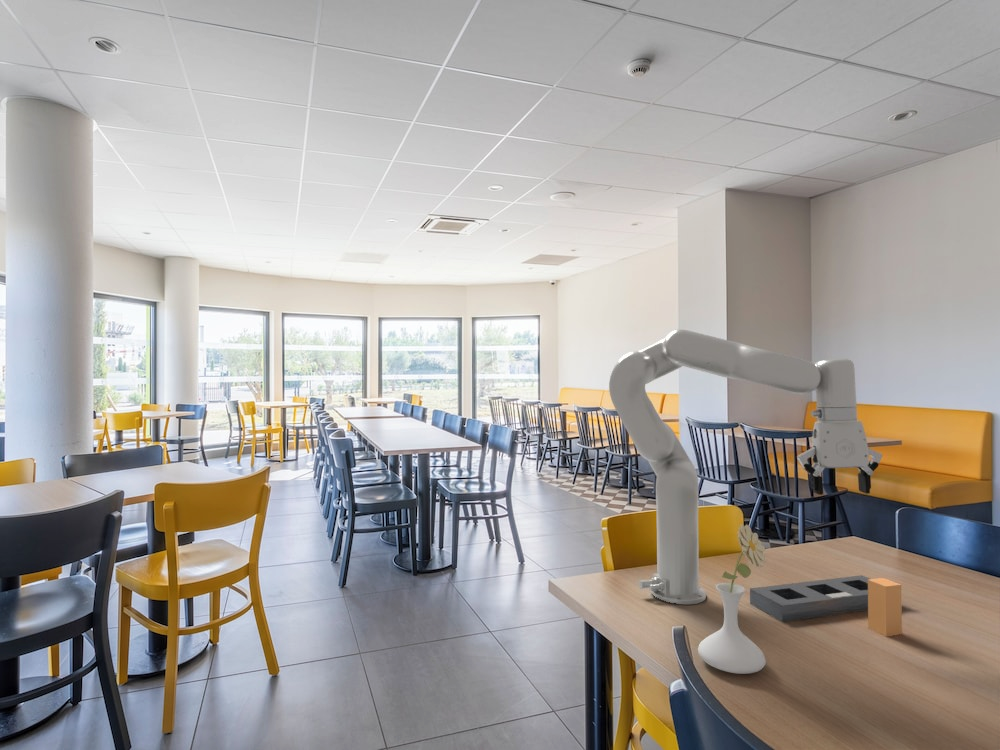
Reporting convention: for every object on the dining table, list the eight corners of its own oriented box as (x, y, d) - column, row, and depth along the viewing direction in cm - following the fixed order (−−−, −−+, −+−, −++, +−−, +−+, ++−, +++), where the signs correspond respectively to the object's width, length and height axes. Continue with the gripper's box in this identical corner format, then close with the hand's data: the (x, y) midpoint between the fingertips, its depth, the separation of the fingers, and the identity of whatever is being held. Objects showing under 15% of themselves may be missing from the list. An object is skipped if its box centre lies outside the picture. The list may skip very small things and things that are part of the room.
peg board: (782, 622, 118) (782, 604, 118) (750, 603, 128) (749, 587, 128) (900, 605, 126) (900, 589, 126) (861, 589, 136) (861, 574, 136)
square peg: (886, 636, 111) (885, 586, 111) (868, 628, 115) (867, 579, 115) (901, 634, 112) (901, 584, 112) (883, 625, 116) (883, 577, 116)
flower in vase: (732, 687, 93) (730, 538, 94) (684, 656, 104) (683, 522, 104) (787, 670, 99) (786, 529, 99) (736, 642, 109) (735, 515, 109)
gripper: (803, 417, 120) (807, 497, 120) (888, 414, 118) (893, 495, 118) (788, 415, 127) (792, 490, 127) (868, 412, 126) (873, 488, 125)
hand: (841, 493), depth 122 cm, fingers open, 9 cm apart
